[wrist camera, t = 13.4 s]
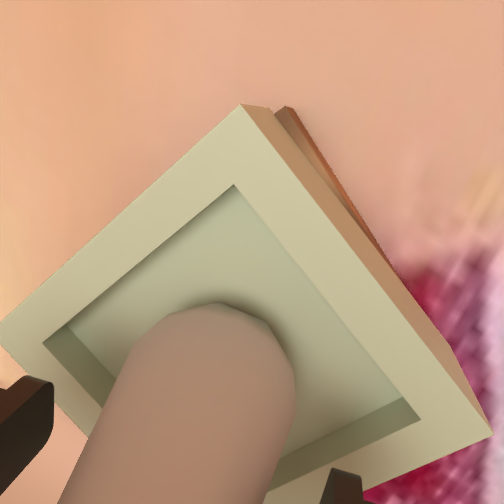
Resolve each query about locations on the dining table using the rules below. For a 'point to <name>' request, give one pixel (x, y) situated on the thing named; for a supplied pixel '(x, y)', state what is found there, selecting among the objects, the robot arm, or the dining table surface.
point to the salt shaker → (191, 415)
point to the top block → (259, 309)
